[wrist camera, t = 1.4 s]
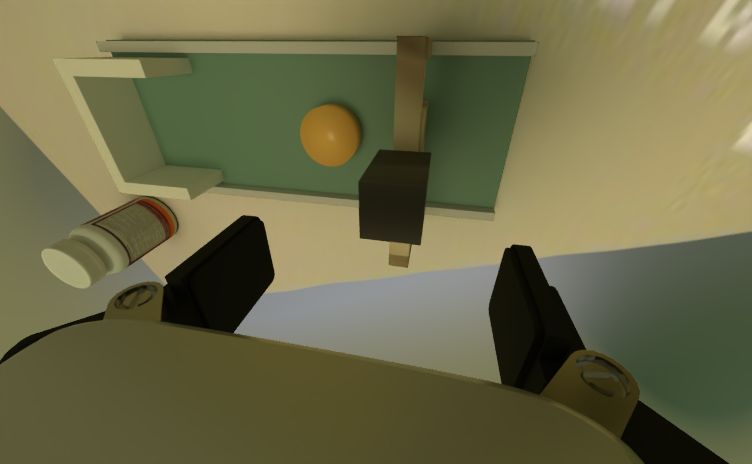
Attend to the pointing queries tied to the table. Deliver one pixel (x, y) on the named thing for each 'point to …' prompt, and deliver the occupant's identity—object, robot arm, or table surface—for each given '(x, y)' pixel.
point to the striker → (400, 161)
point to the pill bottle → (110, 242)
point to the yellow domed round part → (331, 134)
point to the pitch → (293, 116)
